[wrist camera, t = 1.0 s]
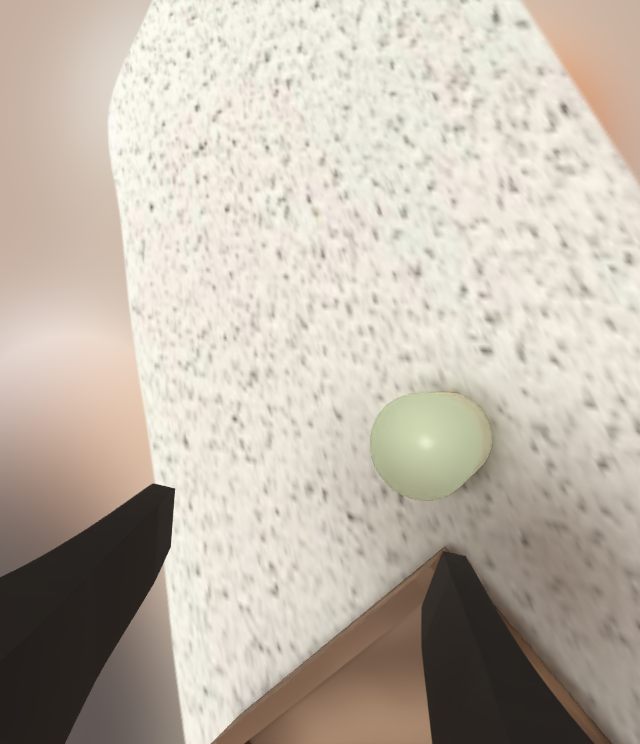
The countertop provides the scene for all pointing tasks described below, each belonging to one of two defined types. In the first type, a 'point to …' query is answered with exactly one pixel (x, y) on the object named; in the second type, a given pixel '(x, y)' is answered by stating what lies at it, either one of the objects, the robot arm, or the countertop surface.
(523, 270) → the countertop surface
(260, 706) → the serving tray
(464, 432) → the cucumber chunk
